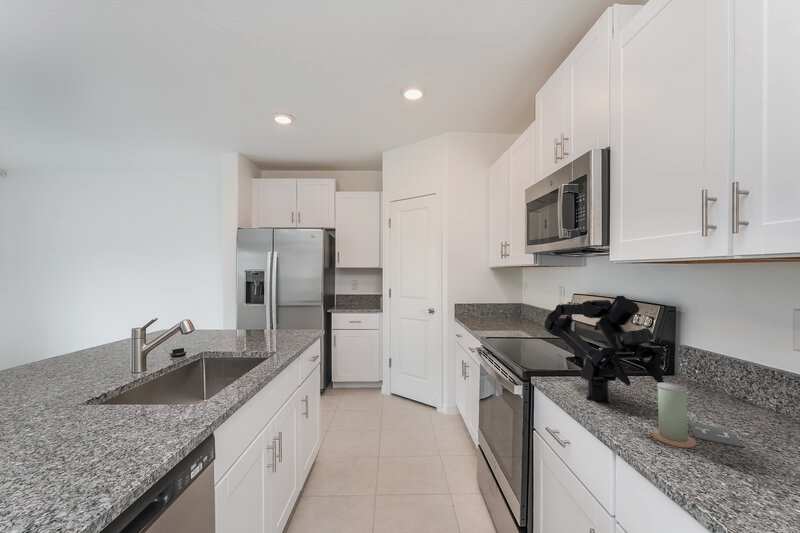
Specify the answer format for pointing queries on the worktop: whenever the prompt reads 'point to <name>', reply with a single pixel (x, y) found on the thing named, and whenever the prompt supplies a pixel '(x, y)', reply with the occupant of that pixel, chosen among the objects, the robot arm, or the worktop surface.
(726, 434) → the tile
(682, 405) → the green tumbler
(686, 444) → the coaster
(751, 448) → the worktop surface
